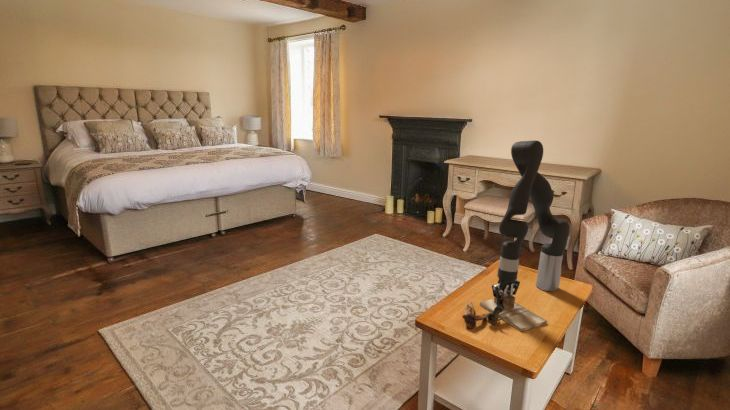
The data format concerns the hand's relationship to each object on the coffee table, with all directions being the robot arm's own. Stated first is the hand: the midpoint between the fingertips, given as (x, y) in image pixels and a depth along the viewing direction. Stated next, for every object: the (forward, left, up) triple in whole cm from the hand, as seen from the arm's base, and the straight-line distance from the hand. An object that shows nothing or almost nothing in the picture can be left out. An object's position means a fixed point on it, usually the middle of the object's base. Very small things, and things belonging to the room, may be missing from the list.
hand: (503, 305), depth 164 cm
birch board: (0, +5, -1) cm, 5 cm away
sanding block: (0, 0, 0) cm, 0 cm away
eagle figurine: (+11, +6, -2) cm, 12 cm away
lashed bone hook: (+17, +1, -2) cm, 17 cm away
